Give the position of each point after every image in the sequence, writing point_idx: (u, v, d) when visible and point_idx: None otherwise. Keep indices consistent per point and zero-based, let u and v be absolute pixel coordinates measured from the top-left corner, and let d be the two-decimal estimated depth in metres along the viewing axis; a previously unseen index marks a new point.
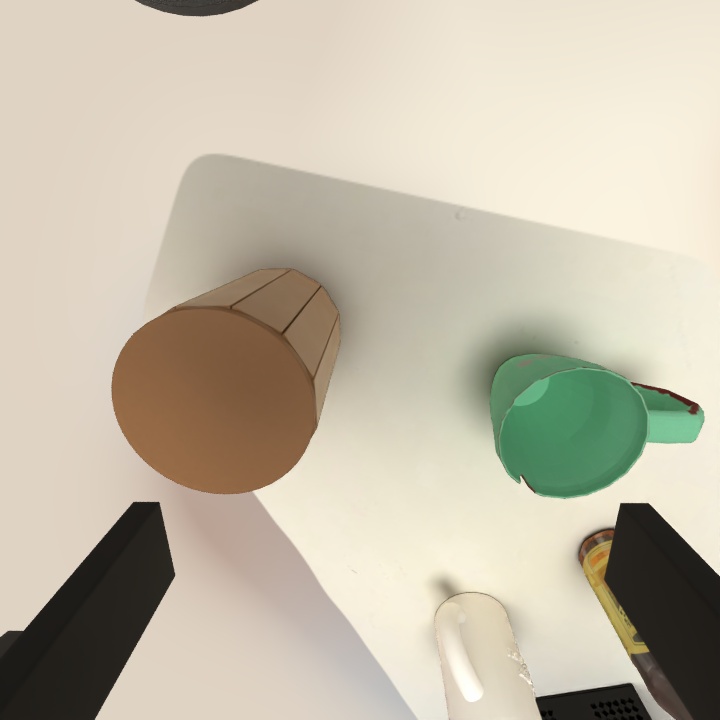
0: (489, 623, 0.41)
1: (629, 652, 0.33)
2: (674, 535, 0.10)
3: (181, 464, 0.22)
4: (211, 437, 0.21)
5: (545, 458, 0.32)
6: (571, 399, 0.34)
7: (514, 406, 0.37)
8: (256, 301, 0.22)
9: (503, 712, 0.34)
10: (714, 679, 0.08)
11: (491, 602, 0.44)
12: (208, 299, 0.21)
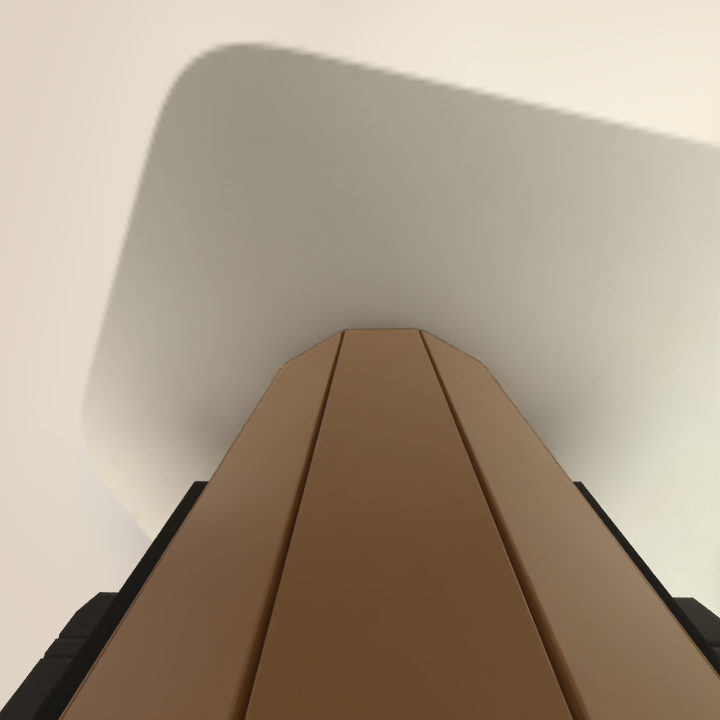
0: None
1: None
2: (597, 508, 0.11)
3: None
4: None
5: None
6: None
7: None
8: None
9: None
10: None
11: None
12: None
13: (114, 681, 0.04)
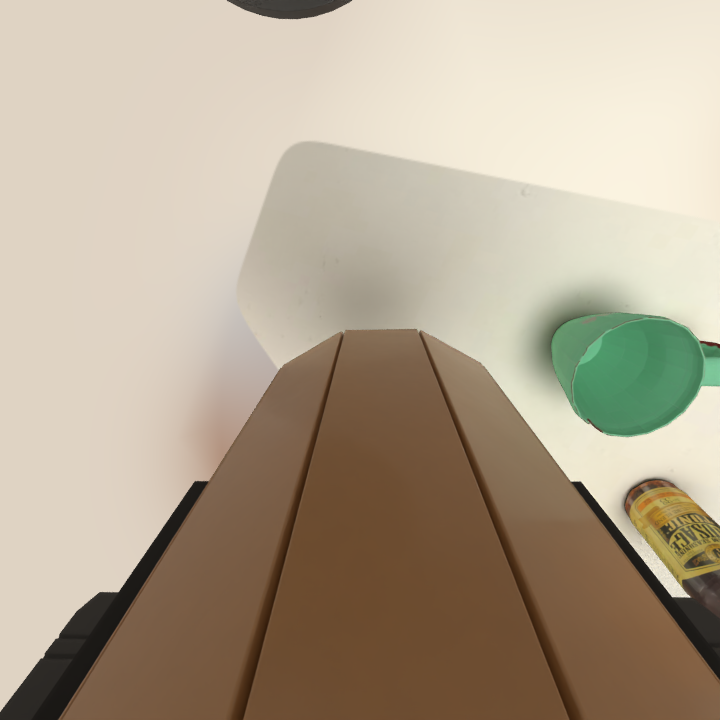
0: None
1: (680, 579, 0.37)
2: (597, 508, 0.11)
3: None
4: None
5: (605, 407, 0.36)
6: (625, 355, 0.38)
7: None
8: None
9: None
10: None
11: None
12: None
13: (113, 681, 0.04)
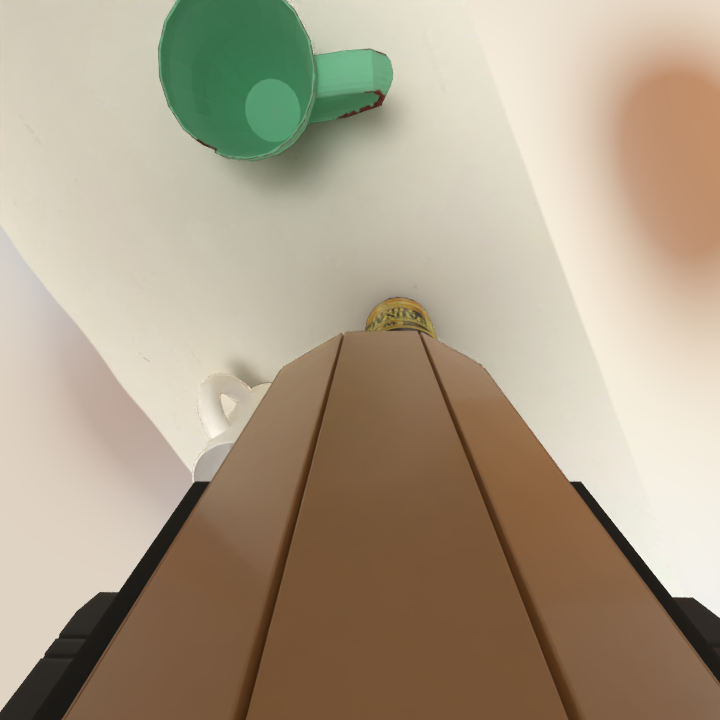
0: None
1: None
2: (597, 508, 0.11)
3: None
4: None
5: None
6: (306, 109, 0.32)
7: (269, 141, 0.35)
8: None
9: (235, 437, 0.32)
10: None
11: None
12: None
13: (112, 689, 0.04)
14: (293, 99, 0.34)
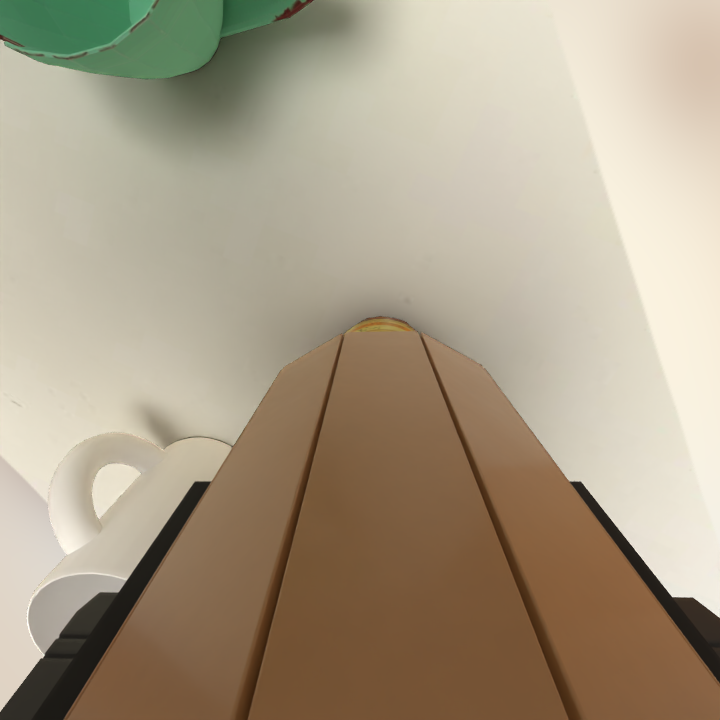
0: (189, 465, 0.26)
1: None
2: (597, 508, 0.11)
3: None
4: None
5: None
6: None
7: None
8: None
9: (94, 561, 0.19)
10: None
11: (219, 447, 0.29)
12: None
13: (113, 691, 0.04)
14: None
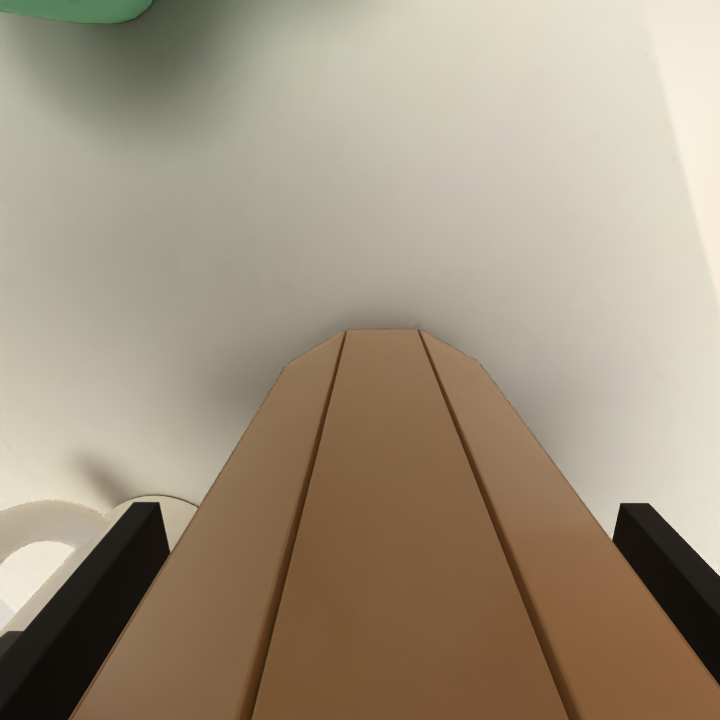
0: None
1: None
2: (674, 535, 0.10)
3: None
4: None
5: None
6: None
7: None
8: None
9: None
10: None
11: (179, 511, 0.23)
12: None
13: (148, 635, 0.05)
14: None
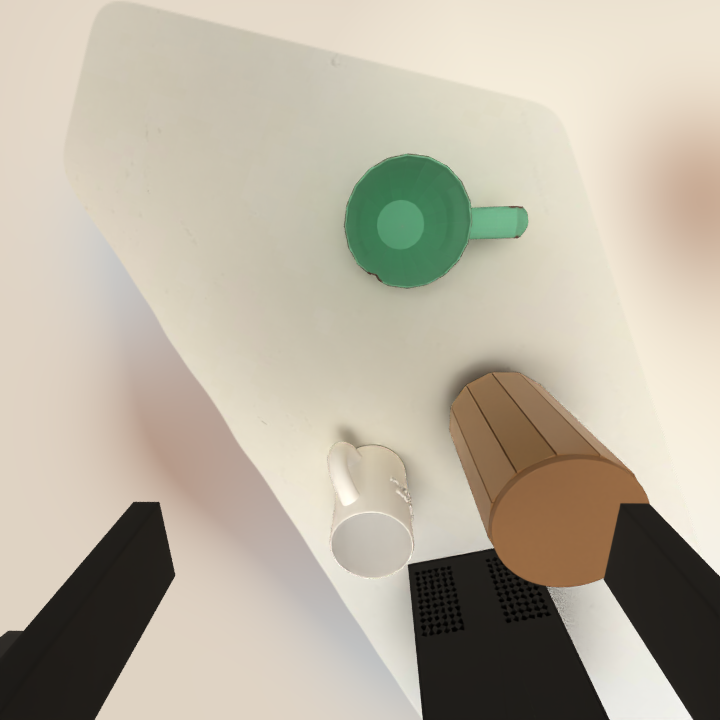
0: (380, 461, 0.45)
1: None
2: (674, 535, 0.10)
3: (531, 565, 0.28)
4: (561, 547, 0.27)
5: (406, 273, 0.36)
6: (436, 230, 0.38)
7: (394, 249, 0.41)
8: (588, 439, 0.28)
9: (371, 507, 0.38)
10: (714, 679, 0.08)
11: (388, 451, 0.48)
12: (561, 441, 0.27)
13: (506, 436, 0.30)
14: (419, 216, 0.40)
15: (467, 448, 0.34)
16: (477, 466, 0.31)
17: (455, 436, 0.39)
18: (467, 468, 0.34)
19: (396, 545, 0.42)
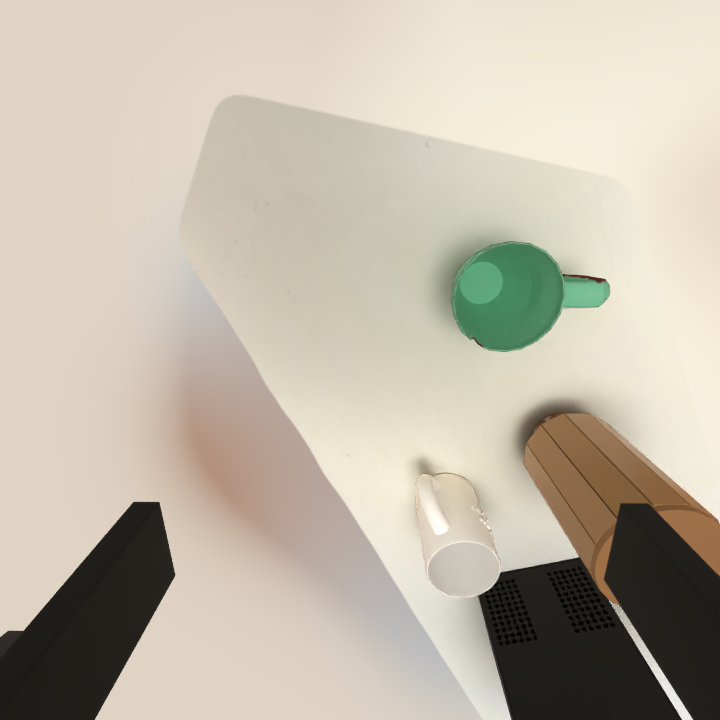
0: (458, 490, 0.50)
1: None
2: (674, 535, 0.10)
3: None
4: None
5: (495, 333, 0.41)
6: (517, 291, 0.43)
7: (475, 304, 0.46)
8: (673, 487, 0.33)
9: (464, 537, 0.43)
10: (714, 678, 0.08)
11: (461, 479, 0.53)
12: (652, 490, 0.32)
13: (598, 482, 0.35)
14: (498, 275, 0.45)
15: (555, 488, 0.39)
16: (571, 507, 0.36)
17: (534, 472, 0.44)
18: (555, 505, 0.39)
19: (478, 566, 0.47)
